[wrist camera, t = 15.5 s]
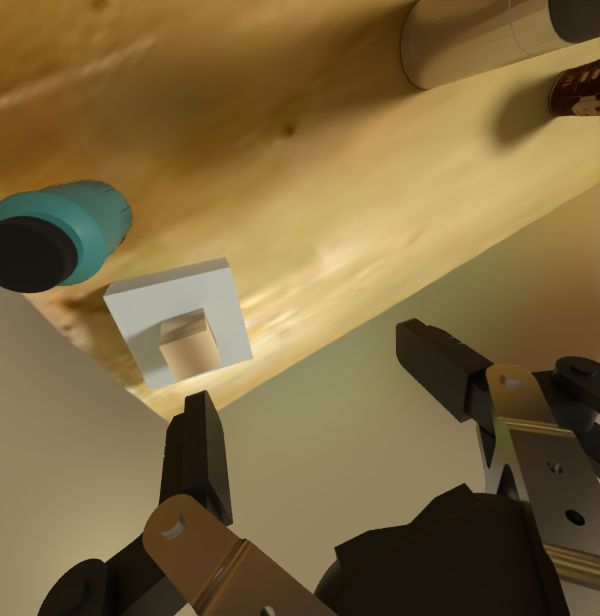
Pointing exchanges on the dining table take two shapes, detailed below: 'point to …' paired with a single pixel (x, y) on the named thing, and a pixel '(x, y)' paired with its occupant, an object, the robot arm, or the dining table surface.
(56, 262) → the beverage bottle
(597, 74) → the coffee cup
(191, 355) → the maple block
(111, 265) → the dining table surface
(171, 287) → the base block
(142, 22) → the dining table surface
